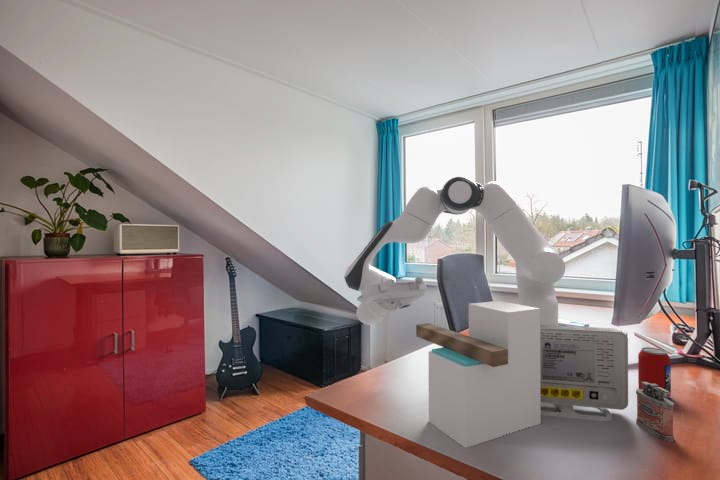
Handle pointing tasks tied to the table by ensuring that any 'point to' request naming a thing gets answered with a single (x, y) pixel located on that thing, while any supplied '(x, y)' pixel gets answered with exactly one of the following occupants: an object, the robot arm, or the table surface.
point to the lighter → (655, 411)
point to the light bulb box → (571, 323)
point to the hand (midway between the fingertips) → (406, 280)
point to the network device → (583, 370)
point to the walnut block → (464, 344)
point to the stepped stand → (489, 377)
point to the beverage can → (654, 368)
